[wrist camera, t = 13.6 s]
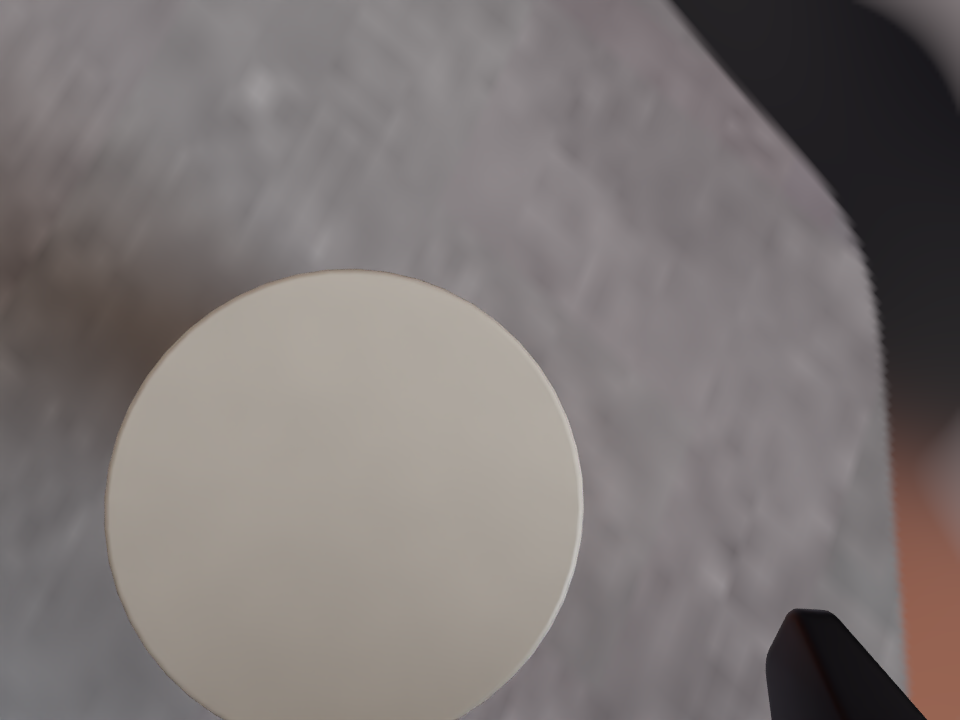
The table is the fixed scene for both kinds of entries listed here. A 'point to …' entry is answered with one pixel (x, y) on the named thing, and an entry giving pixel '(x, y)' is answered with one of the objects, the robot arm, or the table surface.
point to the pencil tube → (344, 503)
